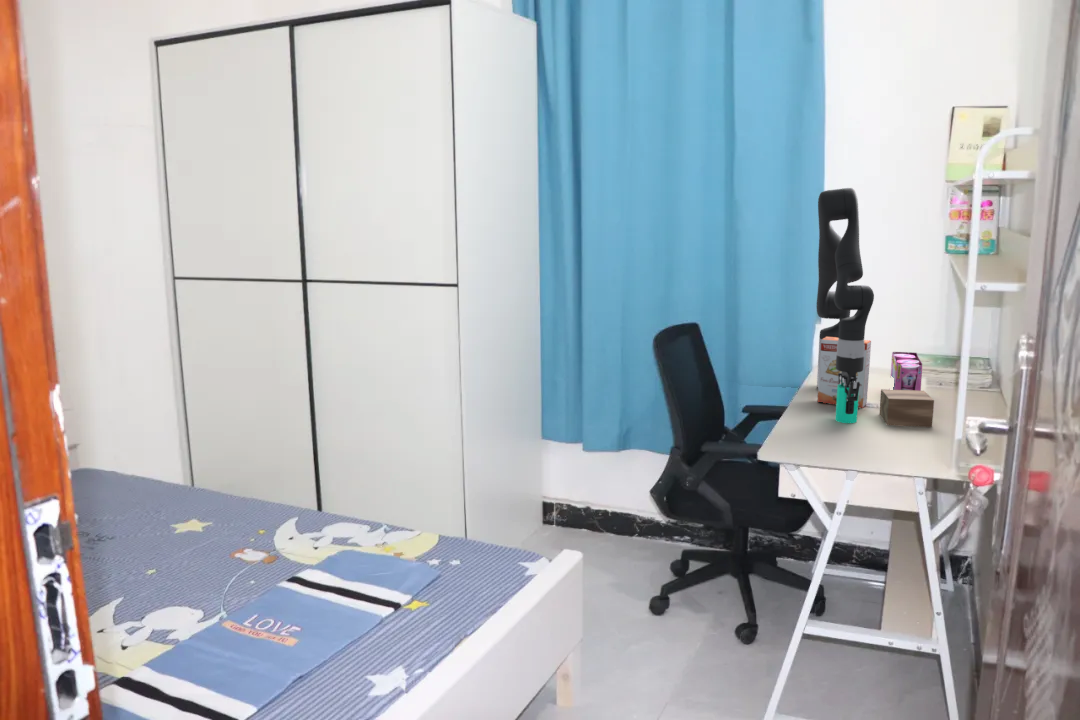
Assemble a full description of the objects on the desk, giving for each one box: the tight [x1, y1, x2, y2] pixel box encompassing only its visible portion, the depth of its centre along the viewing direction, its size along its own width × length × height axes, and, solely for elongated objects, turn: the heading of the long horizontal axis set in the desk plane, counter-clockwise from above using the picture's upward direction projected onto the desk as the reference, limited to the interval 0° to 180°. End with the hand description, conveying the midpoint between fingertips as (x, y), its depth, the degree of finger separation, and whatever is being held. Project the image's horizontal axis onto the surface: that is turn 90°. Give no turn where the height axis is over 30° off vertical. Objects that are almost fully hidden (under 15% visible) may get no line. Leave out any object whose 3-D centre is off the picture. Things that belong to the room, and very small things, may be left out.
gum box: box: [890, 351, 923, 391], centre depth 266 cm, size 24×8×14 cm, turn 160°
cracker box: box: [817, 337, 872, 409], centre depth 260 cm, size 14×6×21 cm, turn 56°
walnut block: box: [879, 388, 935, 428], centre depth 241 cm, size 12×12×8 cm
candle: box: [834, 384, 859, 424], centre depth 241 cm, size 6×6×12 cm
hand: (846, 411), depth 242 cm, fingers closed on candle, 5 cm apart
